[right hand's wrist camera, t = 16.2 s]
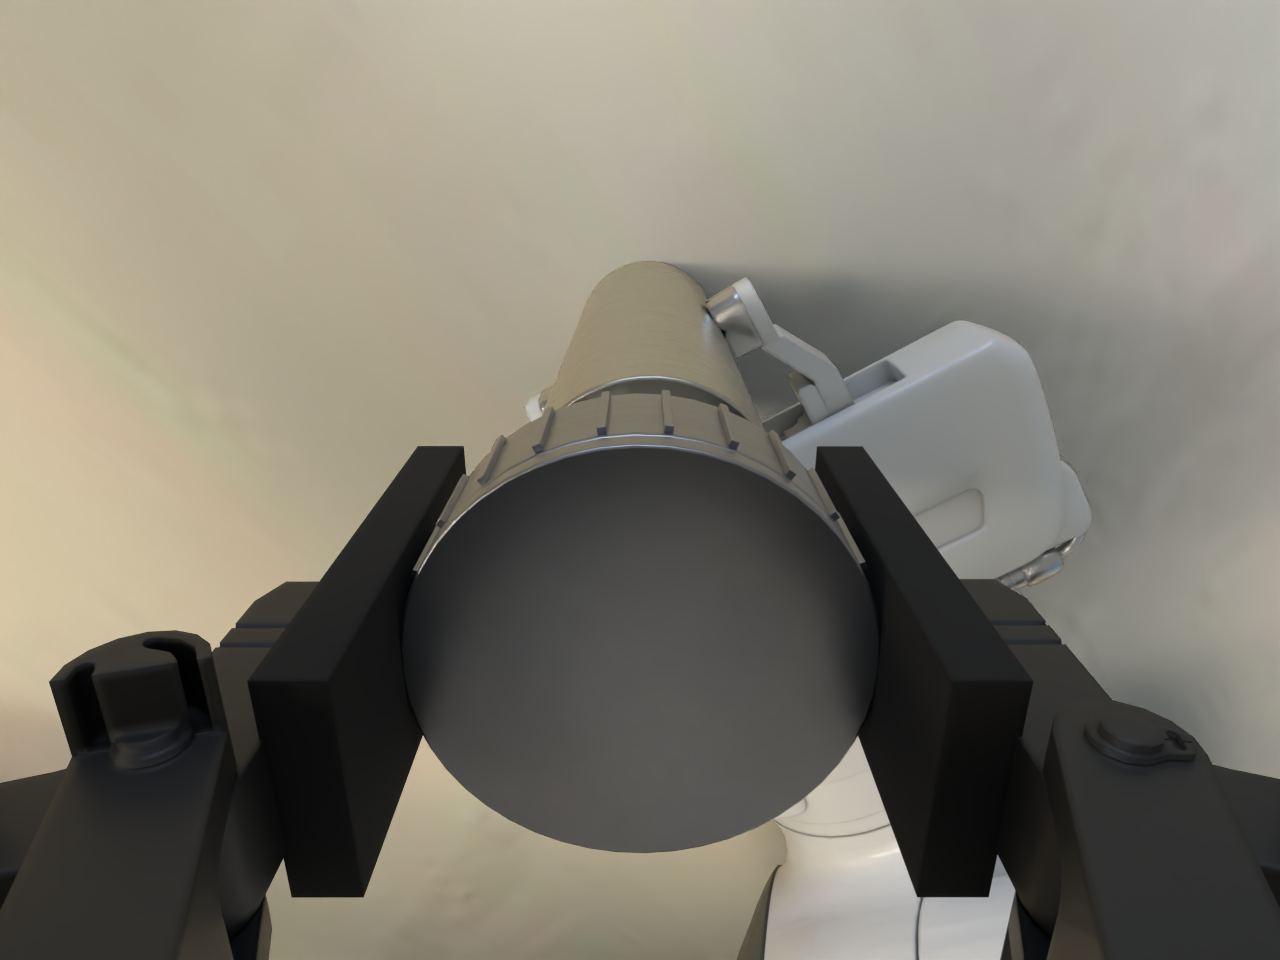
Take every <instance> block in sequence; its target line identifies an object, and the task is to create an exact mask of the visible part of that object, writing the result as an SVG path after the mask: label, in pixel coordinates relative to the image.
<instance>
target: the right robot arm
mask: <svg viewBox="0 0 1280 960" xmlns="http://www.w3.org/2000/svg"><path fill="white" fill-rule="evenodd" d="M815 471H816V473H817V474H818V476H819V478H820V480H821V482H822V484H823V486H824V488H825V490H826V491H827V493H828V495H829V497H830V499H831V501H832V503H833V505H834V507H835V508H836V510H837V512H839V513H840V515H841V517H842V519H843V521H844V523H845V524H846V526H847V528H848V530H849V532H850V534H851V536H852V538H853V539H854V541H855V543H856V545H857V547H858V549H859V551H860V553H861V554H862V556H863V558H864V560H865V562H866V565H867V569H864V570H863V572H864V574H865V577H866V579H867V581H868V583H869V585H870V589H871V592H872V595H873V599H874V602H875V605H876V609H877V613H878V621H879V628H880V636H881V644H880V655H879V664H878V672H877V680H876V688H875V695H874V698H873V701H872V704H871V707H870V710H869V713H868V716H867V718H866V720H865V722H864V724H863V726H862V728H861V730H860V732H859V734H858V737H859V740H860V743H861V745H862V748H863V751H864V754H865V756H866V759H867V762H868V764H869V767H870V770H871V773H872V775H873V778H874V781H875V784H876V786H877V789H878V792H879V795H880V797H881V800H882V803H883V806H884V808H885V811H886V814H887V816H888V819H889V822H890V825H891V827H892V830H893V833H894V836H895V838H896V841H897V844H898V847H899V849H900V852H901V855H902V857H903V860H904V863H905V866H906V868H907V871H908V874H909V877H910V879H911V882H912V885H913V888H914V890H915V893H916V896H917V897H989V893H990V889H991V884H992V879H993V874H994V869H995V864H996V860H997V855H998V856H999V858H1000V860H1001V862H1002V864H1003V866H1004V868H1005V870H1006V872H1007V874H1008V876H1009V878H1010V880H1011V882H1012V884H1013V886H1014V888H1015V894H1014V898H1013V903H1012V907H1011V912H1010V916H1009V921H1008V925H1007V930H1006V934H1005V939H1004V943H1003V948H1002V952H1001V957H1000V960H1280V779H1276V778H1271V777H1266V776H1262V775H1257V774H1252V773H1247V772H1242V771H1237V770H1232V769H1227V768H1224V767H1220V766H1216V765H1212V763H1211V761H1210V759H1209V757H1208V755H1207V754H1206V753H1205V751H1204V750H1203V749H1202V747H1201V746H1200V745H1199V743H1198V742H1197V741H1196V740H1195V738H1194V737H1192V736H1191V735H1190V734H1188V733H1187V732H1186V731H1184V730H1183V729H1181V728H1180V727H1179V726H1177V725H1176V724H1174V723H1173V722H1172V721H1170V720H1168V719H1165V718H1163V717H1161V716H1159V715H1157V714H1154V713H1152V712H1150V711H1148V710H1146V709H1144V708H1140V707H1136V706H1132V705H1128V704H1124V703H1121V702H1117V701H1113V700H1112V699H1111V698H1110V697H1109V696H1108V694H1107V693H1106V692H1105V691H1104V690H1103V688H1102V687H1101V686H1100V685H1099V684H1098V683H1097V681H1096V680H1095V679H1094V678H1093V677H1092V675H1091V674H1090V673H1089V672H1088V671H1087V670H1086V668H1085V667H1084V666H1083V665H1082V664H1081V662H1080V661H1079V660H1078V659H1077V658H1076V657H1075V655H1074V654H1073V653H1072V652H1071V651H1070V649H1069V648H1068V647H1067V646H1066V645H1062V643H1061V639H1060V638H1059V636H1058V635H1057V634H1056V633H1055V632H1054V630H1053V629H1052V628H1051V627H1050V626H1049V625H1046V624H1045V620H1044V619H1043V617H1042V616H1041V615H1040V614H1039V613H1038V612H1037V610H1036V609H1035V608H1034V607H1033V606H1032V604H1031V603H1030V602H1029V601H1028V600H1027V598H1025V597H1023V596H1022V595H1020V594H1018V593H1017V592H1015V591H1013V590H1012V589H1010V588H1009V587H1007V586H1005V585H1004V584H1002V583H1000V582H999V581H997V580H995V579H959V578H958V577H957V575H956V574H955V573H954V571H953V570H952V569H951V567H950V566H949V564H948V563H947V562H946V560H945V559H944V558H943V556H942V555H941V553H940V552H939V551H938V549H937V548H936V547H935V545H934V544H933V542H932V541H931V540H930V538H929V537H928V536H927V534H926V533H925V531H924V530H923V529H922V527H921V526H920V525H919V523H918V522H917V520H916V519H915V518H914V516H913V515H912V514H911V512H910V511H909V509H908V508H907V507H906V505H905V504H904V503H903V501H902V500H901V498H900V497H899V496H898V494H897V493H896V492H895V490H894V489H893V487H892V486H891V485H890V483H889V482H888V481H887V479H886V478H885V476H884V475H883V474H882V472H881V471H880V470H879V468H878V467H877V466H876V464H875V463H874V461H873V460H872V459H871V457H870V456H869V455H868V453H867V452H866V450H865V449H864V448H863V446H817V451H816V463H815ZM463 474H465V475H466V469H465V456H464V446H418V447H417V448H416V450H415V451H414V453H413V454H412V455H411V457H410V458H409V459H408V461H407V462H406V464H405V465H404V466H403V468H402V469H401V470H400V472H399V473H398V475H397V476H396V477H395V479H394V480H393V481H392V483H391V484H390V485H389V487H388V488H387V490H386V491H385V492H384V494H383V495H382V496H381V498H380V499H379V501H378V502H377V503H376V505H375V506H374V507H373V509H372V510H371V512H370V513H369V514H368V516H367V517H366V518H365V520H364V521H363V523H362V524H361V525H360V527H359V528H358V529H357V531H356V532H355V534H354V535H353V536H352V538H351V539H350V540H349V542H348V543H347V545H346V546H345V547H344V549H343V550H342V551H341V553H340V554H339V556H338V557H337V558H336V560H335V561H334V562H333V564H332V565H331V567H330V568H329V569H328V571H327V572H326V573H325V575H324V576H323V578H322V579H321V580H320V582H285V583H283V584H282V585H280V586H279V587H277V588H275V589H274V590H272V591H270V592H269V593H267V594H266V595H264V596H262V597H261V598H259V599H257V600H256V601H254V603H253V604H252V605H251V606H250V607H249V609H248V610H247V611H246V612H245V613H244V615H243V616H242V617H241V618H240V619H239V621H238V622H237V623H236V628H232V629H231V630H230V631H229V632H228V634H227V635H226V636H225V637H224V638H223V640H222V641H221V642H220V647H219V648H215V649H214V650H213V652H212V651H211V647H210V643H208V642H207V641H205V640H204V639H203V638H201V637H200V636H199V635H197V634H192V633H187V632H181V631H176V630H175V631H156V632H146V633H141V634H137V635H132V636H128V637H123V638H119V639H116V640H114V641H111V642H108V643H106V644H103V645H101V646H98V647H96V648H93V649H91V650H88V651H87V652H85V653H84V654H82V655H80V656H79V657H77V658H75V659H74V660H72V661H71V662H69V663H67V664H66V665H64V666H63V667H62V668H61V670H60V671H59V672H58V673H57V674H56V675H55V676H54V677H53V678H52V679H51V680H50V681H49V683H50V687H51V690H52V693H53V696H54V699H55V703H56V706H57V709H58V712H59V716H60V719H61V722H62V725H63V728H64V732H65V735H66V738H67V741H68V744H69V748H70V751H71V754H72V758H71V761H70V763H69V765H68V767H67V769H64V770H60V771H56V772H52V773H47V774H42V775H37V776H32V777H27V778H23V779H18V780H13V781H8V782H3V783H0V960H268V959H269V950H270V941H271V933H272V925H271V919H270V913H269V907H268V903H267V898H266V892H267V890H268V888H269V886H270V884H271V882H272V880H273V878H274V876H275V874H276V872H277V870H278V868H279V866H280V864H281V862H282V860H283V858H284V862H285V867H286V871H287V876H288V881H289V886H290V891H291V896H292V897H364V894H365V892H366V889H367V886H368V884H369V881H370V878H371V875H372V873H373V870H374V867H375V864H376V862H377V859H378V856H379V853H380V851H381V848H382V845H383V843H384V840H385V837H386V834H387V832H388V829H389V826H390V823H391V821H392V818H393V815H394V812H395V810H396V807H397V804H398V801H399V799H400V796H401V793H402V791H403V788H404V785H405V782H406V780H407V777H408V774H409V771H410V769H411V766H412V763H413V760H414V758H415V755H416V752H417V750H418V747H419V744H420V741H421V739H422V736H423V734H422V732H421V730H420V728H419V727H418V725H417V722H416V720H415V717H414V715H413V712H412V709H411V707H410V704H409V702H408V698H407V694H406V689H405V682H404V675H403V666H402V658H401V649H400V639H401V627H402V618H403V614H404V610H405V606H406V602H407V598H408V594H409V591H410V588H411V586H412V584H413V581H414V579H415V578H414V577H411V573H412V570H413V568H414V566H415V564H416V562H417V561H418V559H419V557H420V555H421V553H422V551H423V549H424V547H425V546H426V544H427V542H428V540H429V538H430V536H431V534H432V532H433V531H434V529H435V527H436V523H437V521H438V519H439V517H440V515H441V513H442V511H443V510H444V508H445V506H446V504H447V502H448V500H449V498H450V497H451V495H452V493H453V491H454V489H455V487H456V485H457V484H458V482H459V480H460V478H461V477H462V475H463Z"/></svg>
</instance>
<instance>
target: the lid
mask: <svg viewBox="0 0 1280 960" xmlns="http://www.w3.org/2000/svg"><path fill="white" fill-rule="evenodd" d="M864 569H867V565H866V562H865V560H864V558H863V556H862V554H861V553H860V551H859V549H858V547H857V545H856V543H855V541H854V539H853V538H852V536H851V534H850V532H849V530H848V528H847V526H846V524H845V523H844V521H843V519H842V517H841V515H840V513H839V512H837V510H836V508H835V507H834V505H833V503H832V501H831V499H830V497H829V495H828V493H827V491H826V490H825V488H824V486H823V484H822V482H821V480H820V478H819V476H818V474H817V473H816V471H815V470H814V469H813V468H810V469H809V470H807V469H806V468H805V467H804V466H803V465H802V464H801V462H800V461H799V460H798V459H797V458H796V457H795V456H794V455H793V454H792V452H790V451H789V450H788V449H787V448H786V447H785V446H783V444H782V442H781V440H780V438H779V436H778V434H777V433H776V432H775V431H773V430H771V431H770V432H769V433H767V432H765V431H764V430H762V429H761V428H759V427H757V426H756V425H754V424H753V423H751V422H750V421H748V420H746V419H744V418H742V417H740V416H737V415H735V414H733V413H731V412H729V409H728V406H727V405H725V404H722V403H720V405H719V407H716V406H713V405H709V404H706V403H703V402H700V401H696V400H693V399H687V398H681V397H675V396H670V391H667V390H662V393H661V395H659V394H624V395H612V396H611V395H610V391H606V392H602V395H601V397H599V398H595V399H590V400H585V401H581V402H577V403H574V404H571V405H568V406H566V407H563V408H560V409H557V410H554V409H553V407H552V406H551V407H549V408H546V409H545V411H544V414H543V416H542V417H540V418H538V419H536V420H534V421H532V422H530V423H528V424H526V425H525V426H523V427H522V428H520V429H519V430H517V431H516V432H514V433H513V434H512V435H510V436H509V437H507V438H505V437H504V436H503V435H501V436H500V437H499V438H497V439H496V441H495V444H494V446H493V448H492V450H491V452H490V453H489V454H488V455H487V456H486V457H485V458H484V459H483V460H482V461H481V462H480V464H479V465H478V466H477V467H476V468H475V470H474V471H473V472H472V473H471V474H470V476H469V477H468V476H467V475H465V474H463V475H462V477H461V478H460V480H459V482H458V484H457V485H456V487H455V489H454V491H453V493H452V495H451V497H450V498H449V500H448V502H447V504H446V506H445V508H444V510H443V511H442V513H441V515H440V517H439V519H438V521H437V523H436V527H435V529H434V531H433V532H432V534H431V536H430V538H429V540H428V542H427V544H426V546H425V547H424V549H423V551H422V553H421V555H420V557H419V559H418V561H417V562H416V564H415V566H414V568H413V570H412V573H411V577H414V578H415V579H414V581H413V584H412V586H411V588H410V591H409V594H408V598H407V602H406V606H405V610H404V614H403V618H402V627H401V639H400V649H401V658H402V666H403V675H404V682H405V689H406V694H407V698H408V702H409V704H410V707H411V709H412V712H413V715H414V717H415V720H416V722H417V725H418V727H419V728H420V730H421V732H422V734H423V736H424V737H425V739H426V741H427V743H428V744H429V746H430V748H431V749H432V751H433V752H434V753H435V755H436V756H437V757H438V759H439V760H440V761H441V763H442V764H443V765H444V767H445V768H446V769H447V770H448V771H449V772H450V773H451V774H452V775H453V776H454V777H455V779H456V780H457V781H458V782H459V783H460V784H461V785H462V786H463V787H464V788H465V789H466V790H468V791H469V792H470V793H471V794H473V795H474V796H475V797H476V798H478V799H479V800H480V801H481V802H483V803H484V804H485V805H486V806H488V807H490V808H491V809H493V810H494V811H496V812H498V813H499V814H501V815H502V816H504V817H506V818H507V819H509V820H511V821H513V822H515V823H517V824H519V825H521V826H523V827H525V828H527V829H529V830H531V831H533V832H536V833H539V834H541V835H544V836H547V837H550V838H553V839H555V840H558V841H561V842H565V843H569V844H573V845H578V846H582V847H586V848H591V849H598V850H606V851H613V852H631V853H652V852H668V851H677V850H683V849H689V848H695V847H701V846H704V845H708V844H712V843H715V842H719V841H723V840H726V839H729V838H732V837H735V836H737V835H740V834H742V833H745V832H747V831H750V830H752V829H755V828H757V827H759V826H760V825H762V824H764V823H766V822H768V821H770V820H772V819H774V818H776V817H778V816H779V815H781V814H782V813H784V812H785V811H787V810H788V809H790V808H791V807H793V806H794V805H796V804H797V803H799V802H800V801H801V800H803V799H804V798H805V797H806V796H807V795H808V794H810V793H811V792H812V791H813V790H814V789H815V788H817V787H818V786H819V785H820V784H821V783H822V782H823V781H824V780H825V779H826V778H827V777H828V776H829V774H830V773H831V772H832V771H833V770H834V769H835V768H836V767H837V766H838V765H839V763H840V762H841V761H842V759H843V758H844V756H845V755H846V753H847V752H848V751H849V749H850V748H851V746H852V745H853V743H854V742H855V740H856V738H857V736H858V734H859V732H860V730H861V728H862V726H863V724H864V722H865V720H866V718H867V716H868V713H869V710H870V707H871V704H872V701H873V698H874V695H875V688H876V680H877V672H878V664H879V655H880V644H881V636H880V628H879V621H878V613H877V609H876V605H875V602H874V599H873V595H872V592H871V589H870V585H869V583H868V581H867V579H866V577H865V574H864V572H863V570H864Z"/></svg>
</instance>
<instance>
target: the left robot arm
mask: <svg viewBox="0 0 1280 960" xmlns="http://www.w3.org/2000/svg"><path fill="white" fill-rule="evenodd" d="M705 303H706V305H707V307H708V309H709V311H710V313H711V315H712V317H713V319H714V321H715V322H716V324H717V325H718V326H719V328H720V329H721V330H722V332H723V335H724V337H725V339H726V342H727V344H728V346H729V349H730V351H731V353H732V355H733V356H734V358H735V359H737V358H739V357H741V356H743V355H745V354H747V353H749V352H751V351H753V350H755V349H757V348H759V347H760V349H762V350H763V351H765V352H767V353H768V354H770V355H772V356H773V357H775V358H776V359H778V360H780V361H781V362H783V363H784V364H786V365H788V366H789V367H791V368H793V369H794V370H795V371H793V372H791V373H789V375H788V377H787V378H788V380H789V382H790V384H791V386H792V388H793V390H794V392H795V394H796V396H797V398H798V400H799V402H798V403H796V404H794V405H792V406H790V407H788V408H786V409H785V410H783V411H781V412H779V413H777V414H775V415H773V416H771V417H769V418H767V419H765V420H763V421H762V422H761V423H762V425H763V428H764V430H765V432H767V433H769V432H770V431H771V430H773V431H775V432H776V433H777V434H778V436H779V438H780V440H781V442H782V444H783V446H785V447H786V448H787V449H788V450H789V451H790V452H792V454H793V455H794V456H795V457H796V458H797V459H798V460H799V461H800V462H801V464H802V465H803V466H804V467H805V468H806V469H807V470H809V469H810V468H813V469H814V470H815V463H816V451H817V446H863V448H864V449H865V450H866V452H867V453H868V455H869V456H870V457H871V459H872V460H873V461H874V463H875V464H876V466H877V467H878V468H879V470H880V471H881V472H882V474H883V475H884V476H885V478H886V479H887V481H888V482H889V483H890V485H891V486H892V487H893V489H894V490H895V492H896V493H897V494H898V496H899V497H900V498H901V500H902V501H903V503H904V504H905V505H906V507H907V508H908V509H909V511H910V512H911V514H912V515H913V516H914V518H915V519H916V520H917V522H918V523H919V525H920V526H921V527H922V529H923V530H924V531H925V533H926V534H927V536H928V537H929V538H930V540H931V541H932V542H933V544H934V545H935V547H936V548H937V549H938V551H939V552H940V553H941V555H942V556H943V558H944V559H945V560H946V562H947V563H948V564H949V566H950V567H951V569H952V570H953V571H954V573H955V574H956V575H957V577H958V578H959V579H995V580H997V581H999V582H1000V583H1002V584H1004V585H1005V586H1007V587H1009V588H1010V589H1012V590H1013V591H1014V590H1018V589H1020V588H1022V587H1025V586H1033V585H1036V584H1038V583H1041V582H1043V581H1045V580H1047V579H1049V578H1051V577H1052V576H1054V575H1055V574H1057V573H1058V572H1060V571H1061V570H1062V569H1063V568H1064V562H1063V560H1062V559H1064V558H1065V557H1066V556H1068V555H1069V554H1070V553H1072V552H1073V551H1074V550H1075V549H1076V548H1077V546H1078V545H1079V544H1080V543H1081V541H1082V540H1083V538H1084V536H1085V534H1086V532H1087V531H1088V530H1089V528H1090V527H1091V521H1092V516H1091V510H1090V506H1089V503H1088V500H1087V498H1086V495H1085V493H1084V490H1083V488H1082V485H1081V483H1080V480H1079V478H1078V476H1077V473H1076V471H1075V469H1074V468H1073V466H1072V465H1071V463H1070V462H1069V461H1068V460H1067V459H1065V458H1064V457H1063V456H1061V455H1060V454H1059V451H1058V446H1057V441H1056V437H1055V433H1054V428H1053V424H1052V420H1051V417H1050V413H1049V409H1048V406H1047V402H1046V399H1045V395H1044V392H1043V389H1042V386H1041V383H1040V380H1039V377H1038V374H1037V371H1036V369H1035V366H1034V364H1033V362H1032V359H1031V357H1030V356H1029V354H1028V353H1027V351H1026V350H1025V349H1024V348H1023V347H1022V346H1021V345H1020V344H1019V343H1017V342H1016V341H1015V340H1013V339H1012V338H1010V337H1008V336H1006V335H1004V334H1002V333H1000V332H998V331H996V330H993V329H991V328H988V327H985V326H982V325H979V324H975V323H972V322H969V321H964V320H959V321H954V322H951V323H949V324H947V325H945V326H943V327H941V328H939V329H938V330H936V331H934V332H932V333H930V334H928V335H926V336H924V337H922V338H920V339H919V340H917V341H915V342H913V343H911V344H909V345H907V346H905V347H903V348H901V349H899V350H897V351H896V352H894V353H892V354H890V355H888V356H886V357H884V358H882V359H880V360H878V361H876V362H874V363H873V364H871V365H869V366H867V367H865V368H863V369H861V370H859V371H857V372H855V373H853V374H852V375H850V376H848V377H846V378H844V379H842V377H841V375H840V373H839V371H838V369H837V368H836V367H835V366H834V364H833V363H832V362H831V361H830V360H829V359H828V358H827V357H826V356H825V354H824V353H822V352H820V351H819V350H817V349H815V348H814V347H812V346H810V345H809V344H807V343H805V342H804V341H802V340H801V339H799V338H797V337H796V336H794V335H792V334H791V333H789V332H787V331H786V330H784V329H782V328H781V327H779V326H777V325H776V324H772V322H771V320H770V318H769V316H768V314H767V312H766V310H765V308H764V306H763V304H762V302H761V300H760V298H759V296H758V294H757V292H756V291H755V289H754V287H753V286H752V284H751V282H750V281H749V280H748V278H747V277H745V278H743V279H741V280H740V281H738V282H736V283H734V284H733V285H730V286H729V287H727V288H725V289H724V290H722V291H720V292H718V293H717V294H715V295H713V296H712V297H710V298H708V299H706V300H705ZM552 388H553V386H551V387H549V388H547V389H545V390H543V391H541V392H539V393H537V394H536V395H534V396H533V397H531V398H529V399H528V402H527V404H526V406H525V411H526V414H527V416H528V419H529V421H530V422H532V421H534V420H536V419H538V418H540V417H541V415H542V413H543V410H544V408H545V405H546V403H547V400H548V398H549V395H550V393H551V390H552ZM1060 544H1061V545H1060ZM1057 545H1060V546H1059V547H1057V548H1055V546H1057ZM772 820H773V821H774V822H775V823H776V824H777V825H778V826H779V827H780V828H781V830H782V831H783V834H784V836H785V840H786V846H787V859H786V862H785V864H784V865H783V866H782V865H778V866H777V867H776V868H775V870H774V871H773V873H772V874H771V876H770V878H769V880H768V881H767V883H766V885H765V887H764V890H763V892H762V895H761V897H760V899H759V902H758V904H757V907H756V909H755V912H754V915H753V918H752V920H751V923H750V925H749V928H748V931H747V933H746V936H745V939H744V941H743V944H742V946H741V949H740V952H739V955H738V958H737V960H1000V957H1001V952H1002V948H1003V943H1004V939H1005V934H1006V930H1007V925H1008V921H1009V916H1010V912H1011V907H1012V903H1013V898H1014V894H1015V888H1014V886H1013V884H1012V882H1011V880H1010V878H1009V876H1008V874H1007V872H1006V870H1005V868H1004V866H1003V864H1002V862H1001V860H1000V858H999V856H998V855H997V860H996V864H995V869H994V874H993V879H992V884H991V889H990V893H989V897H917V896H916V893H915V890H914V888H913V885H912V882H911V879H910V877H909V874H908V871H907V868H906V866H905V863H904V860H903V857H902V855H901V852H900V849H899V847H898V844H897V841H896V838H895V836H894V833H893V830H892V827H891V825H890V822H889V819H888V816H887V814H886V811H885V808H884V806H883V803H882V800H881V797H880V795H879V792H878V789H877V786H876V784H875V781H874V778H873V775H872V773H871V770H870V767H869V764H868V762H867V759H866V756H865V754H864V751H863V748H862V745H861V743H860V740H859V737H858V736H857V738H856V740H855V742H854V743H853V745H852V746H851V748H850V749H849V751H848V752H847V753H846V755H845V756H844V758H843V759H842V761H841V762H840V763H839V765H838V766H837V767H836V768H835V769H834V770H833V771H832V772H831V773H830V774H829V776H828V777H827V778H826V779H825V780H824V781H823V782H822V783H821V784H820V785H819V786H818V787H817V788H815V789H814V790H813V791H812V792H811V793H810V794H808V795H807V796H806V797H805V798H804V799H803V800H801V801H800V802H799V803H797V804H796V805H794V806H793V807H791V808H790V809H788V810H787V811H785V812H784V813H782V814H781V815H779V816H778V817H776V818H774V819H772Z"/></svg>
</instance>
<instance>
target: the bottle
mask: <svg viewBox="0 0 1280 960" xmlns="http://www.w3.org/2000/svg"><path fill="white" fill-rule="evenodd" d="M706 299H708V298H707V296H706V294H705V292H704V291H703V290H702V288H701V287H700V286H699V284H698V283H697V282H696V281H695V280H694V279H693V278H692V277H690V276H689V275H688V274H687V273H685V272H683V271H682V270H680V269H678V268H676V267H674V266H671V265H668V264H665V263H661V262H653V261H643V262H636V263H632V264H628V265H625V266H623V267H621V268H618V269H616V270H615V271H613V272H611V273H610V274H609V275H607V276H606V277H605V278H604V279H603V280H602V281H601V282H600V283H599V284H598V285H597V286H596V287H595V289H594V290H593V292H592V293H591V295H590V297H589V299H588V301H587V303H586V306H585V308H584V311H583V313H582V316H581V318H580V321H579V323H578V326H577V328H576V331H575V333H574V336H573V338H572V341H571V343H570V346H569V348H568V350H567V353H566V355H565V358H564V360H563V363H562V365H561V368H560V370H559V373H558V375H557V378H556V380H555V383H554V385H553V388H552V390H551V393H550V395H549V398H548V400H547V403H546V405H545V408H544V410H543V413H542V415H541V417H542V416H543V414H544V411H545V409H546V408H549V407H551V406H552V407H553V409H554V410H557V409H560V408H563V407H566V406H568V405H571V404H574V403H577V402H581V401H585V400H590V399H595V398H599V397H601V395H602V392H606V391H610V395H611V396H612V395H624V394H659V395H661V393H662V390H667V391H670V396H675V397H681V398H687V399H693V400H696V401H700V402H703V403H706V404H709V405H713V406H716V407H719V405H720V403H722V404H725V405H727V406H728V409H729V412H731V413H733V414H735V415H737V416H740V417H742V418H744V419H746V420H748V421H750V422H751V423H753V424H754V425H756V426H757V427H759V428H761V429H762V430H764V428H763V425H762V423H761V421H760V418H759V416H758V414H757V411H756V409H755V407H754V404H753V402H752V400H751V397H750V395H749V393H748V390H747V388H746V386H745V383H744V381H743V379H742V376H741V374H740V372H739V369H738V367H737V365H736V363H735V360H734V358H733V356H732V353H731V351H730V349H729V346H728V344H727V342H726V339H725V337H724V335H723V332H722V330H721V329H720V328H719V326H718V325H717V324H716V322H715V321H714V319H713V317H712V315H711V313H710V311H709V309H708V307H707V305H706V303H705V300H706ZM764 431H765V430H764Z"/></svg>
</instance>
